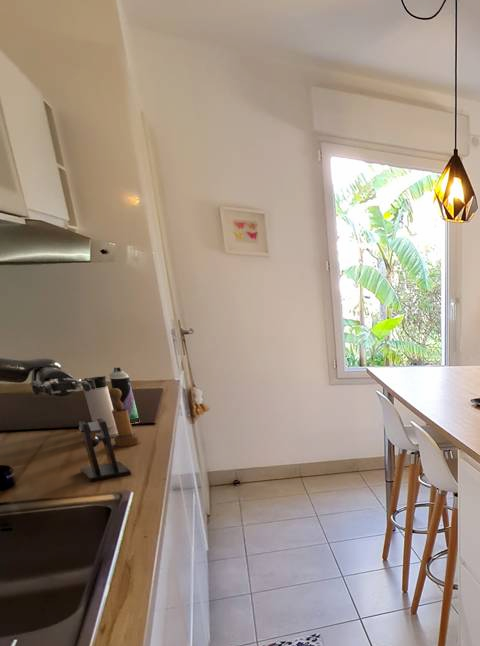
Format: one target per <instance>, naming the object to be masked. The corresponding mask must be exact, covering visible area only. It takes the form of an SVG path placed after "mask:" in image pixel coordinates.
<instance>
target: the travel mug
mask: <svg viewBox="0 0 480 646" xmlns="http://www.w3.org/2000/svg"><path fill="white" fill-rule="evenodd" d="M88 378H89V379H92V380H94V383H95V387H96V389H91V390H89V391H87V392H86V391H85V390H83V393H84V396H85V399H86V403H87V407H88V410H89V415H90V418H91V422H97V419H103V420H104V421H106V424H107V425H108V432H109V436H110V439H114V438H115V437H116V436H117V435H118V432H117V428H116V424H115V421H114V417H113V413H112V410H114V407H113V406H114V405H113V402H112V399H111V398H112V397H111V395H110V393H109V392H110V390H109V387H108V384H107V380H106V379H107V376H106V375H102V376H94V377H88ZM80 380H81V381H83V379H80ZM95 436H96V437H97V438H98V439H101V440H102V436H101V432H100V433H97V434H96V435H95Z"/></svg>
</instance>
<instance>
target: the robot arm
mask: <svg viewBox="0 0 480 646" xmlns="http://www.w3.org/2000/svg"><path fill="white" fill-rule="evenodd" d="M29 376H30V383H29V385H30V389H31V392H32V394H33V395H36V396H37V395H40V393H41V394H43V395H48V396H52V395H54V396H55V397H65V396H69V395H71V394H73V393H74V392H81V391H84V390H85V391H86V392H87V391H89V390H91V389H96V387H95V383H94V380H92V379H89V378H90V377H85V378H83V379H80V378H74V377H73V376H72V375H71V374H69V373H67V372H65V370H62V365H61V363H60V362H59V361H58V360H55V359H54V358H47V357H38V358H30V359H29V358H28V359H13V358H7V357H6V358H5V357H0V382H6V383H15V384H21V383H24V382H26V381H27V380H28V378H29ZM81 380H83V381H81Z"/></svg>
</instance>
